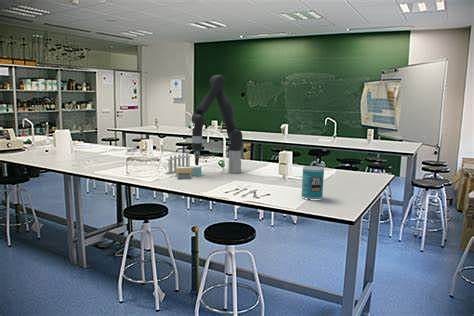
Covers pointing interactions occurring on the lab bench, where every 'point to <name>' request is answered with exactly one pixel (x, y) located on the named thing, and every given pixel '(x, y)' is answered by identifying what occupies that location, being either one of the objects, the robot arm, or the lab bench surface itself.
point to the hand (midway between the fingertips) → (196, 164)
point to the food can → (312, 182)
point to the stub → (196, 171)
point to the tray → (184, 175)
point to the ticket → (184, 170)
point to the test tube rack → (178, 162)
